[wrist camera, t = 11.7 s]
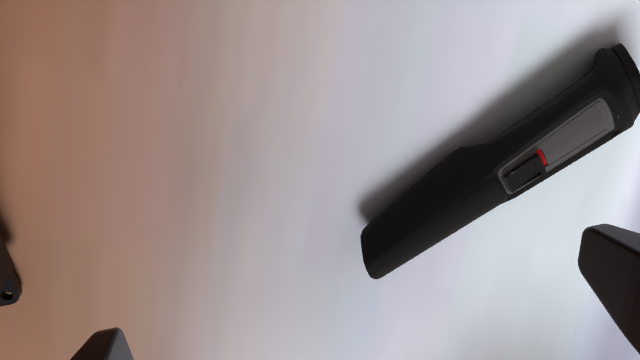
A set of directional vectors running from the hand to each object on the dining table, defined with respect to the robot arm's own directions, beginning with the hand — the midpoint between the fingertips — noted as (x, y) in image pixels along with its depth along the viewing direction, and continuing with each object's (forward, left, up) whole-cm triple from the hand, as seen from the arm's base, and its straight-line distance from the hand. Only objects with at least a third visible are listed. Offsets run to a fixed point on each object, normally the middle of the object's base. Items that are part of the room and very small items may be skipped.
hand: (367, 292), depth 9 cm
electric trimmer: (+10, -5, -14) cm, 18 cm away
